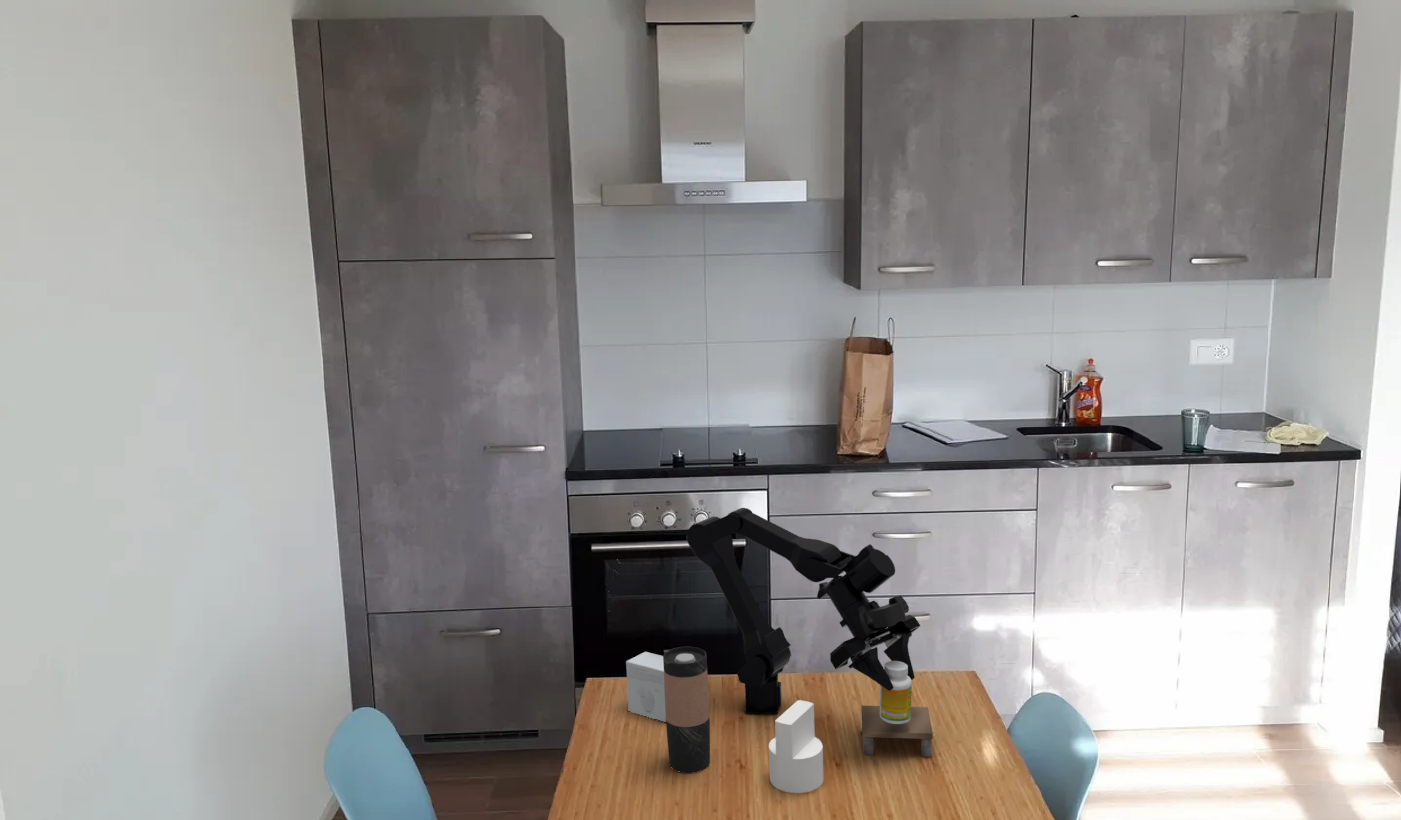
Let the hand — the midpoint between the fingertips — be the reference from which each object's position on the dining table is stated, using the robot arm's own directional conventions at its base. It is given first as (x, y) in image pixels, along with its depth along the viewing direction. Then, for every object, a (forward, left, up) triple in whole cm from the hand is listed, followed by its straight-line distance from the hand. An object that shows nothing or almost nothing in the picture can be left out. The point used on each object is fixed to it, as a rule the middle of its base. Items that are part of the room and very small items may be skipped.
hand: (902, 684), depth 174 cm
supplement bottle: (-1, +1, -7) cm, 7 cm away
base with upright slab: (-18, -9, -13) cm, 24 cm away
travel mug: (-37, -5, -13) cm, 40 cm away
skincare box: (-46, +14, -13) cm, 50 cm away
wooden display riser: (-1, +5, -13) cm, 14 cm away
